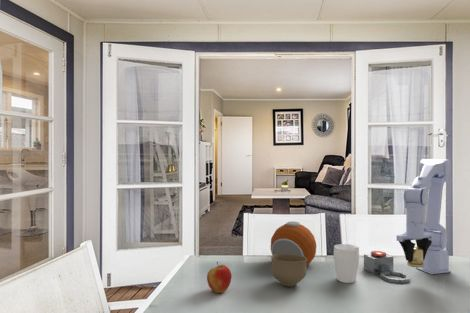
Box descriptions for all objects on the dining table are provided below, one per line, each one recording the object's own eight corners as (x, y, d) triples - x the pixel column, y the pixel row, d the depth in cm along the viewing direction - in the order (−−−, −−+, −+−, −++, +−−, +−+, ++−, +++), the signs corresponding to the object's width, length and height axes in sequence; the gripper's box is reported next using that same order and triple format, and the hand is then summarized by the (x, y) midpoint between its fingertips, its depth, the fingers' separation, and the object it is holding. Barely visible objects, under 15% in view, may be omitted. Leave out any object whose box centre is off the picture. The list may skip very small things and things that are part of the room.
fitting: (416, 262, 129) (416, 245, 128) (427, 267, 123) (427, 249, 123) (404, 263, 128) (404, 246, 127) (414, 268, 122) (414, 250, 122)
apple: (222, 298, 113) (222, 267, 113) (202, 293, 118) (202, 263, 118) (236, 290, 120) (235, 260, 120) (216, 285, 125) (216, 256, 125)
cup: (361, 285, 124) (361, 251, 124) (334, 283, 126) (334, 249, 126) (357, 276, 133) (357, 244, 133) (332, 274, 135) (332, 243, 135)
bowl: (309, 280, 129) (309, 253, 129) (304, 293, 117) (304, 263, 117) (275, 276, 133) (275, 250, 133) (267, 288, 121) (267, 259, 121)
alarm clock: (322, 261, 151) (322, 221, 151) (308, 273, 136) (308, 228, 136) (280, 255, 161) (280, 217, 161) (263, 265, 146) (263, 223, 146)
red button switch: (378, 264, 147) (378, 248, 147) (415, 281, 128) (415, 262, 128) (358, 267, 144) (358, 249, 144) (393, 284, 125) (393, 264, 125)
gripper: (422, 218, 131) (422, 255, 132) (390, 220, 127) (390, 258, 127) (438, 222, 125) (438, 260, 125) (405, 224, 120) (405, 264, 121)
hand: (415, 260), depth 126 cm, fingers closed on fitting, 5 cm apart
